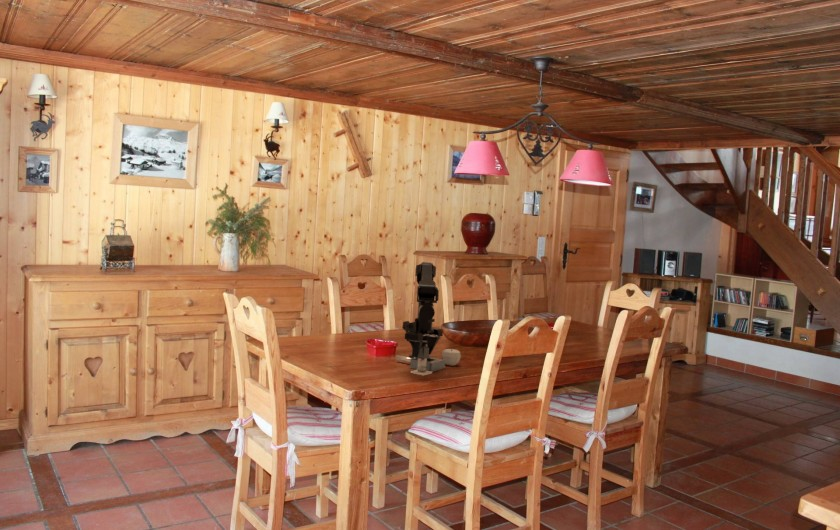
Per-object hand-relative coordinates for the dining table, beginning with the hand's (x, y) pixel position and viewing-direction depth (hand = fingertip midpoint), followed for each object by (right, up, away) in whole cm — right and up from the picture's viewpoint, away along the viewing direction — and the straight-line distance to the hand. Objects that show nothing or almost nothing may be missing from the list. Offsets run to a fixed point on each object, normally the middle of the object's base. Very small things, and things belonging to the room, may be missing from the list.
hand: (422, 356), depth 276 cm
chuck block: (-2, -6, +12) cm, 14 cm away
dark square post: (0, -6, +1) cm, 6 cm away
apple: (+12, -6, +19) cm, 23 cm away
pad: (0, -7, +1) cm, 7 cm away
